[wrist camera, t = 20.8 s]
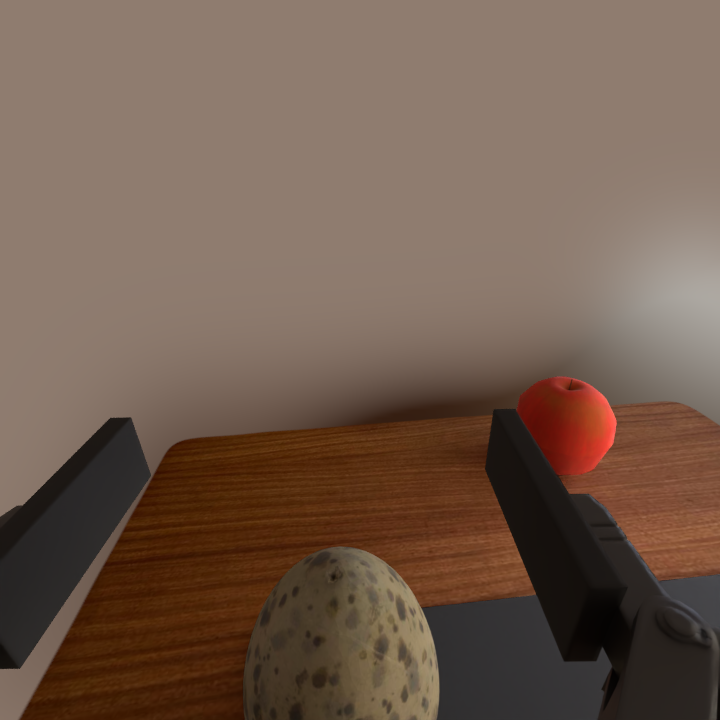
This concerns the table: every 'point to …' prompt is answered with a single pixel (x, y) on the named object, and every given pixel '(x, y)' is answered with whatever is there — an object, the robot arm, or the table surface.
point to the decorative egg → (341, 645)
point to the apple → (568, 423)
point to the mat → (527, 658)
